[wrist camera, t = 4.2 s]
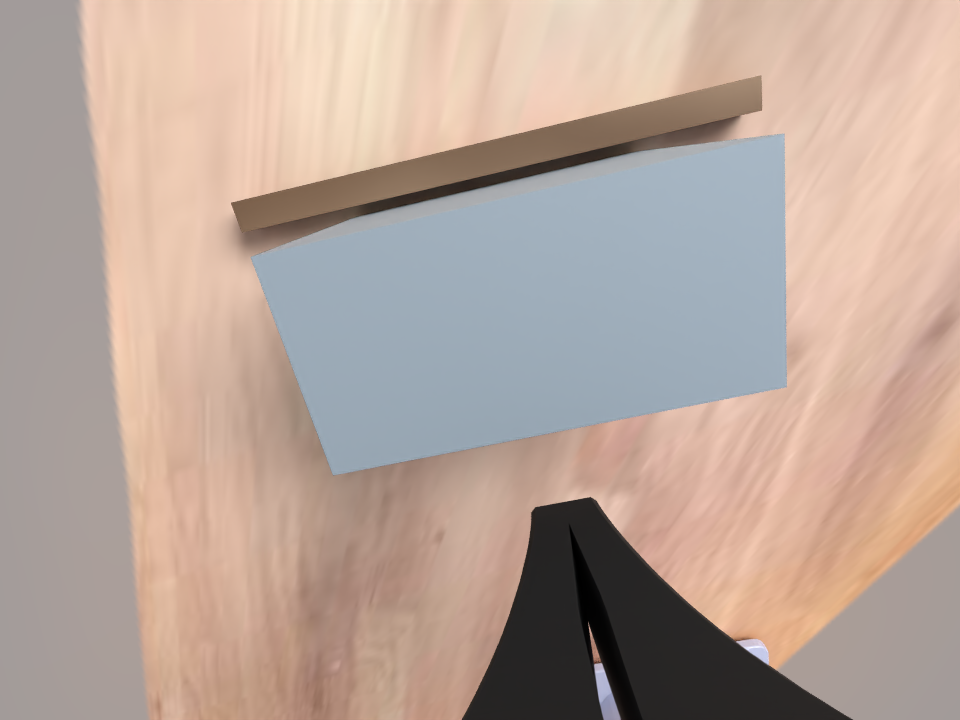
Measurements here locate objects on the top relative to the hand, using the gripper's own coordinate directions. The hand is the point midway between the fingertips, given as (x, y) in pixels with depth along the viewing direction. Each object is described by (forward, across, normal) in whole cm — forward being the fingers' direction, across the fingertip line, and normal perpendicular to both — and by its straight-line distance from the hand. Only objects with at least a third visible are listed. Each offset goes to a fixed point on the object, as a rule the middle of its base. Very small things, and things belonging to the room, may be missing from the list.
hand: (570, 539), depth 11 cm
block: (+6, 0, -5) cm, 8 cm away
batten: (+6, 0, -8) cm, 10 cm away
